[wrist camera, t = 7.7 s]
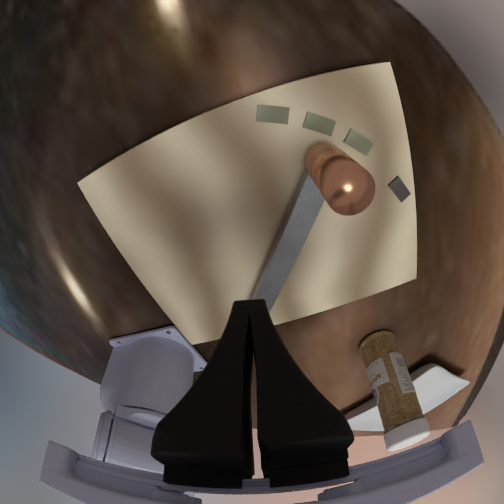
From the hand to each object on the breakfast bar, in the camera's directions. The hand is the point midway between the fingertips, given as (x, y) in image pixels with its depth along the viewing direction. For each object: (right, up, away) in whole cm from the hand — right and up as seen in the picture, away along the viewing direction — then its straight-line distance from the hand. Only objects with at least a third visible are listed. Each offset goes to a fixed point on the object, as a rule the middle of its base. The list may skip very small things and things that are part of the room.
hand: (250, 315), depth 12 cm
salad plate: (+28, -23, +28) cm, 46 cm away
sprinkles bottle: (+15, -7, +17) cm, 24 cm away
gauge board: (+1, +5, +8) cm, 9 cm away
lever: (+2, +3, +7) cm, 8 cm away
